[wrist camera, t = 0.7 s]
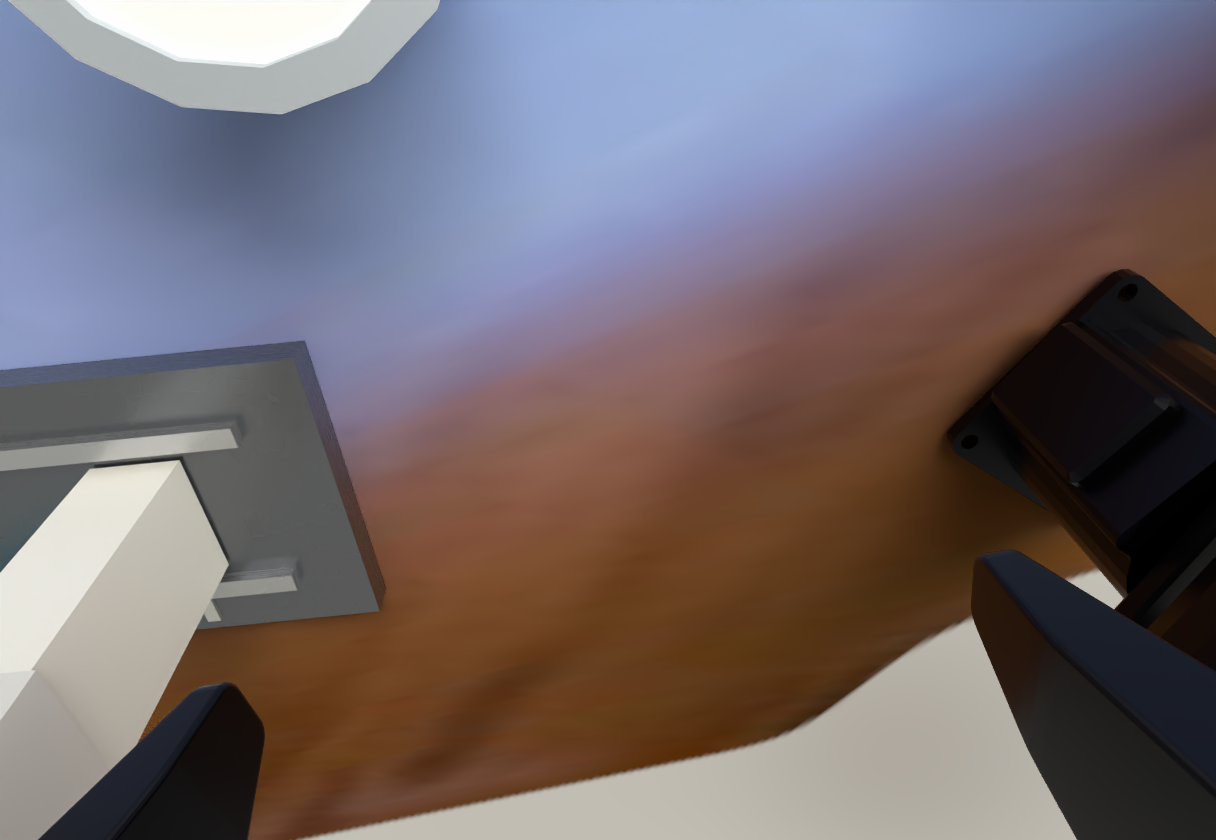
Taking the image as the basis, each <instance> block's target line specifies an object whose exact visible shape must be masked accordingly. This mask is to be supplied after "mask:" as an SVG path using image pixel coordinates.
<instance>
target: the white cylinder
mask: <svg viewBox="0 0 1216 840" xmlns="http://www.w3.org/2000/svg"><path fill="white" fill-rule="evenodd" d="M8 1H9V2H10V3H11V4H13V5H14V6H15V7H16V8H17V9H18V10H20V11H21V12H22V13H23V14H24V15H25V16H26V17H28V18H29V19H30V20H31V21H32V22H33V23H34V24H36V25H37V26H38V27H39V28H40V29H41V30H43V31H44V32H45V33H46V34H47V35H48V36H49V37H51V38H52V39H53V40H54V41H55V42H56V43H57V44H59V45H60V46H61V47H62V48H63V49H64V50H66V51H67V52H68V53H69V54H70V55H71V56H72V57H74V58H75V59H76V60H78V61H80V62H83V63H85V64H87V65H89V66H91V67H94V68H96V69H98V70H100V71H103V72H105V73H107V74H109V75H111V76H114V77H116V78H118V79H120V80H122V81H125V82H127V83H129V84H131V85H133V86H136V87H138V88H140V89H142V90H145V91H147V92H149V93H151V94H153V95H156V96H158V97H160V98H162V99H164V100H167V101H169V102H171V103H173V104H176V105H178V106H180V107H185V108H199V109H213V110H227V111H241V112H255V113H269V114H284V113H287V112H290V111H293V110H295V109H298V108H301V107H303V106H306V105H309V104H311V103H314V102H317V101H319V100H322V99H325V98H327V97H330V96H333V95H335V94H338V93H341V92H344V91H346V90H349V89H352V88H354V87H357V86H360V85H362V84H365V83H368V82H370V81H371V80H372V79H373V78H374V77H375V76H376V74H377V73H378V72H379V71H380V70H381V69H382V68H383V67H384V66H385V65H386V64H387V63H388V62H389V61H390V60H391V58H392V57H393V56H394V55H395V54H396V53H397V52H398V51H399V50H400V49H401V48H402V47H403V46H404V45H405V44H406V43H407V41H408V40H409V39H410V38H411V37H412V36H413V35H414V34H415V33H416V32H417V31H418V30H419V29H420V28H421V27H422V25H423V24H424V23H425V22H426V21H427V20H428V19H429V18H430V17H431V16H432V15H433V14H434V13H435V12H436V11H437V8H438V6H439V3H440V0H8Z"/></svg>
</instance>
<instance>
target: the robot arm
mask: <svg viewBox="0 0 1216 840" xmlns="http://www.w3.org/2000/svg"><path fill="white" fill-rule="evenodd" d="M1127 284H1128V287H1127V289H1126V290H1125V291H1124V292H1123V293H1121V294H1120V295H1118V293H1119V291H1120V290H1121V288H1122V287H1124V286H1125V285H1127ZM968 435H971V437H970V438H969V439H967V440H966V441H962V440H963V438H965V437H966V436H968ZM947 441H948V444H949V445H950V446H951V447H952V449H953V450H954V451H955V452H956V453H957V454H958V455H960V456H961V457H963V458H964V459H966V460H968V461H969V462H971V463H972V464H974V465H976V466H977V467H979V468H981V469H982V470H984V471H985V472H987V473H989V474H990V475H992V476H993V477H995V478H997V479H998V480H1000V481H1001V482H1003V483H1005V484H1006V485H1008V486H1009V487H1011V488H1013V489H1014V490H1016V491H1017V492H1019V493H1021V494H1022V495H1024V496H1025V497H1027V498H1029V499H1030V500H1032V501H1033V502H1035V503H1037V504H1038V505H1040V506H1041V507H1043V508H1045V509H1046V510H1048V511H1049V512H1050V513H1051V514H1052V515H1053V516H1054V517H1055V518H1056V520H1057V521H1058V522H1059V523H1060V524H1061V525H1062V527H1063V528H1064V529H1065V530H1066V531H1067V533H1068V534H1069V535H1070V536H1071V537H1072V538H1073V540H1074V541H1075V542H1076V543H1077V544H1078V545H1079V547H1080V548H1081V549H1082V550H1083V551H1084V552H1085V554H1086V555H1087V556H1088V557H1089V558H1090V560H1091V561H1092V562H1093V563H1094V564H1095V565H1096V567H1097V568H1098V569H1099V570H1100V571H1101V572H1102V574H1103V575H1104V576H1105V577H1106V578H1107V579H1108V581H1109V582H1110V583H1111V584H1112V585H1113V586H1114V588H1115V589H1116V590H1117V591H1118V592H1119V594H1120V595H1121V596H1122V597H1123V598H1124V599H1123V600H1122V601H1121V602H1120V604H1119V605H1118V606H1117V607H1116V608H1115V609H1112V608H1111V607H1109V606H1108V605H1106V604H1104V603H1103V602H1101V601H1099V600H1098V599H1096V598H1094V597H1093V596H1091V595H1089V594H1088V593H1086V592H1084V591H1083V590H1081V589H1079V588H1078V587H1076V586H1075V585H1073V584H1071V583H1070V582H1068V581H1066V580H1065V579H1063V578H1062V577H1060V576H1058V575H1057V574H1055V573H1053V572H1052V571H1050V570H1048V569H1047V568H1045V567H1043V566H1042V565H1040V564H1039V563H1037V562H1035V561H1034V560H1032V559H1030V558H1029V557H1027V556H1025V555H1024V554H1022V553H1020V552H1018V551H1015V550H1011V549H1007V550H1001V551H995V552H989V553H983V554H980V555H978V556H977V557H976V559H975V561H974V568H973V582H972V596H971V610H972V616H973V619H974V623H975V625H976V628H977V630H978V633H979V635H980V637H981V640H982V642H983V645H984V647H985V649H986V652H987V654H988V657H989V659H990V661H991V664H992V666H993V669H994V671H995V673H996V676H997V678H998V680H999V683H1000V685H1001V688H1002V690H1003V692H1004V695H1005V697H1006V700H1007V702H1008V704H1009V707H1010V709H1011V712H1012V714H1013V716H1014V719H1015V721H1016V724H1017V726H1018V728H1019V731H1020V733H1021V735H1022V737H1023V740H1024V742H1025V744H1026V746H1027V748H1028V751H1029V752H1030V754H1031V756H1032V758H1033V760H1034V762H1035V764H1036V766H1037V768H1038V770H1039V772H1040V773H1041V775H1042V777H1043V779H1044V781H1045V783H1046V784H1047V786H1048V788H1049V790H1050V791H1051V793H1052V795H1053V797H1054V799H1055V801H1056V802H1057V804H1058V806H1059V808H1060V810H1061V811H1062V813H1063V815H1064V817H1065V819H1066V821H1067V822H1068V824H1069V826H1070V827H1071V829H1072V831H1073V833H1074V835H1075V837H1076V839H1077V840H1216V338H1215V337H1214V336H1213V335H1212V334H1211V333H1209V332H1208V331H1207V330H1206V329H1205V328H1203V327H1202V326H1201V325H1200V324H1199V323H1197V322H1196V321H1195V320H1194V319H1193V318H1192V317H1190V316H1189V315H1188V314H1187V313H1186V312H1184V311H1183V310H1182V309H1181V308H1180V307H1179V306H1177V305H1176V304H1175V303H1174V302H1173V301H1171V300H1170V299H1169V298H1168V297H1167V296H1165V295H1164V294H1163V293H1162V292H1161V291H1160V290H1158V289H1157V288H1156V287H1155V286H1154V285H1152V284H1151V283H1150V282H1149V281H1148V280H1146V279H1145V278H1144V277H1142V276H1141V275H1139V274H1137V273H1136V272H1134V271H1132V270H1129V269H1121V270H1118V271H1116V272H1113V273H1112V274H1111V275H1109V276H1108V277H1107V278H1106V279H1105V280H1104V281H1103V282H1102V283H1101V284H1100V285H1098V286H1097V287H1096V288H1095V289H1094V290H1093V291H1092V292H1091V293H1090V294H1089V295H1088V296H1087V297H1086V298H1085V299H1084V300H1083V301H1082V302H1081V303H1080V304H1079V305H1078V306H1077V307H1076V308H1075V309H1074V310H1073V311H1072V312H1071V313H1069V314H1068V315H1067V316H1066V317H1065V318H1064V319H1063V320H1062V321H1061V322H1060V323H1059V324H1058V325H1057V326H1056V327H1055V328H1054V329H1053V330H1052V331H1051V332H1050V333H1049V334H1048V335H1047V336H1046V337H1045V338H1044V339H1043V340H1042V341H1041V342H1039V343H1038V344H1037V345H1036V346H1035V347H1034V348H1033V349H1032V350H1031V351H1030V352H1029V353H1028V354H1027V355H1026V356H1025V357H1024V358H1023V359H1022V360H1021V361H1020V362H1019V363H1018V364H1017V365H1016V366H1015V367H1014V368H1013V369H1012V370H1011V371H1009V372H1008V373H1007V374H1006V375H1005V376H1004V377H1003V378H1002V379H1001V380H1000V381H999V382H998V383H997V384H996V385H995V386H994V387H993V388H992V389H991V390H990V391H989V392H988V393H987V394H986V395H985V396H984V397H983V398H982V399H981V400H979V401H978V402H977V403H976V404H975V405H974V406H973V407H972V408H971V409H970V410H969V411H968V412H967V413H966V414H965V415H964V416H963V417H962V418H961V419H960V420H959V421H958V422H957V423H956V424H955V425H954V426H953V427H952V428H951V429H950V430H949V432H948V435H947ZM264 739H265V733H264V727H263V724H262V721H261V719H260V718H259V716H258V715H257V714H256V712H255V711H254V709H253V708H252V707H251V705H250V704H249V702H248V701H247V700H246V698H245V697H244V695H243V694H242V693H241V691H240V690H239V688H238V687H237V686H236V685H234V684H232V683H229V682H224V683H219V684H213V685H207V686H202V687H199V688H197V689H195V690H194V691H193V692H191V693H190V694H189V695H188V696H187V697H186V698H185V699H184V700H183V701H182V702H181V703H180V704H179V705H178V706H177V707H176V708H175V709H174V710H173V711H171V712H170V713H169V714H168V715H167V716H166V717H165V718H164V719H163V720H162V721H161V722H160V723H159V724H158V725H157V726H156V727H155V728H154V729H153V730H152V731H151V732H150V733H148V734H147V735H146V736H145V737H144V738H143V739H142V740H141V741H140V742H139V743H138V744H137V745H136V746H135V747H134V748H133V749H132V750H131V751H130V752H129V753H128V754H127V755H126V756H124V757H123V758H122V759H121V760H120V761H119V762H118V763H117V764H116V765H115V766H114V767H113V768H112V769H111V770H110V771H109V772H108V773H107V774H106V775H105V776H104V777H103V778H102V779H100V780H99V781H98V782H97V783H96V784H95V785H94V786H93V787H92V788H91V789H90V790H89V791H88V792H87V793H86V794H85V795H84V796H83V797H82V798H81V799H80V800H79V801H78V802H76V803H75V804H74V805H73V806H72V807H71V808H70V809H69V810H68V811H67V812H66V813H65V814H64V815H63V816H62V817H61V818H60V819H59V820H58V821H57V822H56V823H55V824H53V825H52V826H51V827H50V828H49V829H48V830H47V831H46V832H45V833H44V834H43V835H42V836H41V837H40V838H39V839H38V840H248V835H249V829H250V823H251V817H252V812H253V806H254V800H255V794H256V788H257V782H258V776H259V771H260V765H261V759H262V753H263V747H264Z"/></svg>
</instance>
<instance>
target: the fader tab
mask: <svg viewBox="0 0 1216 840" xmlns="http://www.w3.org/2000/svg"><path fill="white" fill-rule="evenodd" d="M228 565H229V564H228V562H227V560H226V558H225V555H224V553H223V551H222V549H221V547H220V545H219V543H218V541H217V538H216V536H215V534H214V532H213V530H212V528H211V526H210V524H209V522H208V519H207V517H206V515H205V513H204V511H203V509H202V507H201V505H200V502H199V500H198V498H197V496H196V494H195V492H194V490H193V488H192V486H191V483H190V481H189V479H188V477H187V475H186V473H185V471H184V469H183V466H182V464H181V462H180V460H176V461H166V462H156V463H146V464H136V465H125V466H115V467H105V468H95V469H89V470H88V472H87V473H86V474H85V475H84V476H83V477H82V479H81V480H80V481H79V482H78V483H77V484H76V485H75V487H74V488H73V489H72V490H71V491H70V492H69V494H68V495H67V496H66V497H65V498H64V499H63V501H62V502H61V503H60V504H59V505H58V506H57V508H56V509H55V510H54V511H53V512H52V513H51V514H50V516H49V517H48V518H47V519H46V520H45V521H44V523H43V524H42V525H41V526H40V527H39V528H38V530H37V531H36V532H35V533H34V534H33V535H32V536H31V538H30V539H29V540H28V541H27V542H26V543H25V545H24V546H23V547H22V548H21V549H20V550H19V552H18V553H17V554H16V555H15V556H14V557H13V559H12V560H11V561H10V562H9V563H8V564H7V565H6V567H5V568H4V569H3V570H2V571H1V572H0V840H38V839H39V838H40V837H41V836H42V835H43V834H44V833H45V832H46V831H47V830H48V829H49V828H50V827H51V826H52V825H53V824H55V823H56V822H57V821H58V820H59V819H60V818H61V817H62V816H63V815H64V814H65V813H66V812H67V811H68V810H69V809H70V808H71V807H72V806H73V805H74V804H75V803H76V802H78V801H79V800H80V799H81V798H82V797H83V796H84V795H85V794H86V793H87V792H88V791H89V790H90V789H91V788H92V787H93V786H94V785H95V784H96V783H97V782H98V781H99V780H100V779H102V778H103V777H104V776H105V775H106V774H107V773H108V772H109V771H110V770H111V769H112V768H113V767H114V766H115V765H116V764H117V763H118V762H119V761H120V760H121V759H122V758H123V757H124V756H126V755H127V754H128V753H129V752H130V751H131V750H132V749H133V748H134V747H135V746H136V745H137V743H138V741H139V739H140V737H141V735H142V733H143V731H144V729H145V727H146V725H147V723H148V721H149V719H150V717H151V716H152V714H153V712H154V710H155V708H156V706H157V704H158V702H159V700H160V698H161V696H162V694H163V692H164V690H165V688H166V686H167V684H168V682H169V680H170V678H171V677H172V675H173V673H174V671H175V669H176V667H177V665H178V663H179V661H180V659H181V657H182V655H183V653H184V651H185V649H186V647H187V645H188V643H189V641H190V639H191V638H192V636H193V634H194V632H195V630H196V628H197V626H198V624H199V622H200V620H201V618H202V616H203V614H204V612H205V610H206V608H207V606H208V604H209V602H210V600H211V599H212V597H213V595H214V593H215V591H216V589H217V587H218V585H219V583H220V581H221V579H222V577H223V575H224V573H225V571H226V569H227V567H228Z"/></svg>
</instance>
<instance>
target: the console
mask: <svg viewBox="0 0 1216 840" xmlns="http://www.w3.org/2000/svg"><path fill="white" fill-rule="evenodd" d="M176 460H180V462H181V464H182V466H183V469H184V471H185V473H186V475H187V477H188V479H189V481H190V483H191V486H192V488H193V490H194V492H195V494H196V496H197V498H198V500H199V502H200V505H201V507H202V509H203V511H204V513H205V515H206V517H207V519H208V522H209V524H210V526H211V528H212V530H213V532H214V534H215V536H216V538H217V541H218V543H219V545H220V547H221V549H222V551H223V553H224V555H225V558H226V560H227V562H228V564H229V565H228V567H227V569H226V571H225V573H224V575H223V577H222V579H221V581H220V583H219V585H218V587H217V589H216V591H215V593H214V595H213V597H212V599H211V600H210V602H209V604H208V606H207V608H206V610H205V612H204V614H203V616H202V618H201V620H200V622H199V624H198V626H197V628H196V630H198V629H208V628H218V627H228V626H238V625H248V624H258V623H268V622H278V621H288V620H298V619H308V618H318V617H328V616H338V615H348V614H358V613H368V612H378V611H380V609H381V605H382V601H383V597H384V593H385V589H386V588H385V585H384V581H383V578H382V575H381V572H380V569H379V566H378V563H377V560H376V557H375V554H374V551H373V548H372V545H371V542H370V539H369V536H368V533H367V530H366V527H365V524H364V521H363V518H362V515H361V511H360V508H359V505H358V502H357V499H356V496H355V493H354V490H353V487H352V484H351V481H350V478H349V475H348V472H347V469H346V466H345V463H344V460H343V457H342V454H341V451H340V448H339V445H338V441H337V438H336V435H335V432H334V429H333V426H332V423H331V420H330V417H329V414H328V411H327V408H326V405H325V402H324V399H323V396H322V393H321V390H320V387H319V384H318V381H317V378H316V375H315V371H314V368H313V365H312V362H311V359H310V356H309V353H308V350H307V347H306V344H305V341H298V342H288V343H278V344H268V345H257V346H247V347H237V348H227V349H216V350H206V351H196V352H186V353H175V354H165V355H155V356H145V357H134V358H124V359H114V360H103V361H93V362H83V363H73V364H62V365H52V366H42V367H32V368H21V369H11V370H1V371H0V572H1V571H2V570H3V569H4V568H5V567H6V565H7V564H8V563H9V562H10V561H11V560H12V559H13V557H14V556H15V555H16V554H17V553H18V552H19V550H20V549H21V548H22V547H23V546H24V545H25V543H26V542H27V541H28V540H29V539H30V538H31V536H32V535H33V534H34V533H35V532H36V531H37V530H38V528H39V527H40V526H41V525H42V524H43V523H44V521H45V520H46V519H47V518H48V517H49V516H50V514H51V513H52V512H53V511H54V510H55V509H56V508H57V506H58V505H59V504H60V503H61V502H62V501H63V499H64V498H65V497H66V496H67V495H68V494H69V492H70V491H71V490H72V489H73V488H74V487H75V485H76V484H77V483H78V482H79V481H80V480H81V479H82V477H83V476H84V475H85V474H86V473H87V472H88V470H89V469H95V468H105V467H115V466H125V465H136V464H146V463H156V462H166V461H176Z"/></svg>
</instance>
